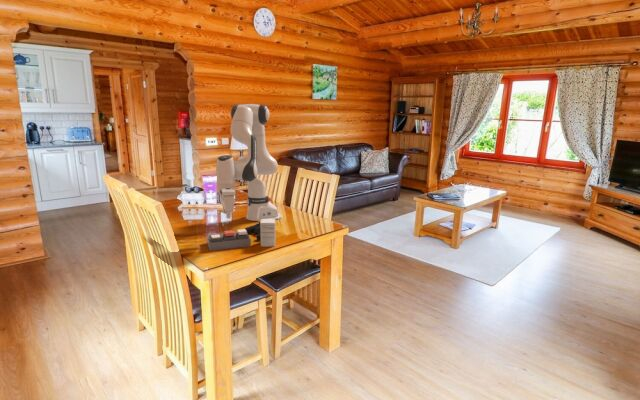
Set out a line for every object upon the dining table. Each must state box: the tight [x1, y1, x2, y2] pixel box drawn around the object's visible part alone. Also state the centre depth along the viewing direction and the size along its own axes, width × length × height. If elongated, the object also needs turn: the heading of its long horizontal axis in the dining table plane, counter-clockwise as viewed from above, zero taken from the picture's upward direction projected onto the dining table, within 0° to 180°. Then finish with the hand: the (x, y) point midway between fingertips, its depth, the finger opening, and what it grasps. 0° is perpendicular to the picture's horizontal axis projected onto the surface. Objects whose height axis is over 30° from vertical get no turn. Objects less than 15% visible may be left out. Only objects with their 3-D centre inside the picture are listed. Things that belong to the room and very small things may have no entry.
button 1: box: [210, 234, 220, 239], centre depth 183 cm, size 4×4×2 cm
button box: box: [206, 231, 252, 252], centre depth 188 cm, size 20×12×6 cm, turn 113°
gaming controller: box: [244, 222, 261, 242], centre depth 202 cm, size 17×6×10 cm
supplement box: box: [260, 219, 276, 248], centre depth 189 cm, size 7×7×13 cm
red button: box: [223, 229, 235, 236], centre depth 185 cm, size 4×4×2 cm
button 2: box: [236, 228, 247, 235], centre depth 187 cm, size 4×4×2 cm
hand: (226, 215), depth 187 cm, fingers open, 8 cm apart
